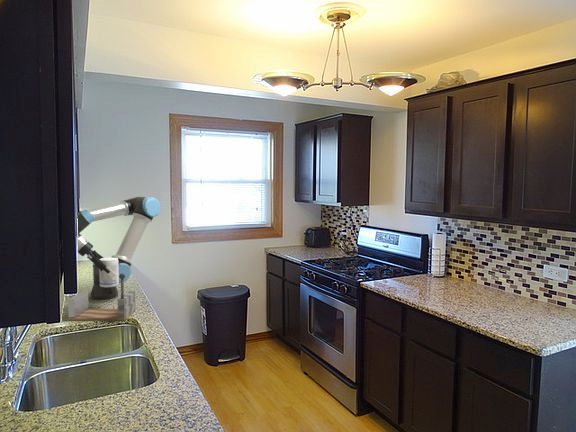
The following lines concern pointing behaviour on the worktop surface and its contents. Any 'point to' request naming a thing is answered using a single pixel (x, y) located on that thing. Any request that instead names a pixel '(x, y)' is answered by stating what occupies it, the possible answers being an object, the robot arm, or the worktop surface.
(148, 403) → the worktop surface
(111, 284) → the supplement tub
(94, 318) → the vise bed
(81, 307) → the front jaw
